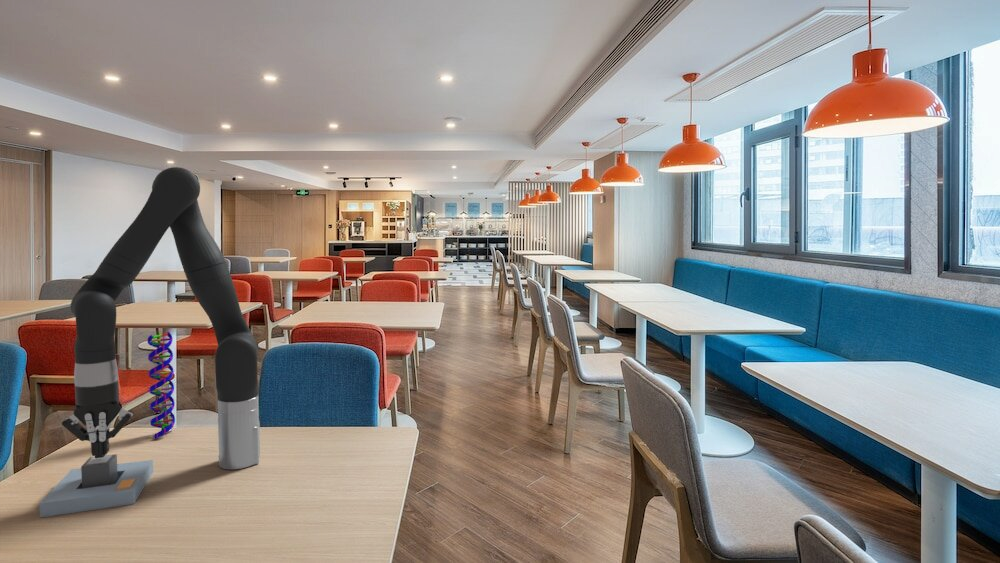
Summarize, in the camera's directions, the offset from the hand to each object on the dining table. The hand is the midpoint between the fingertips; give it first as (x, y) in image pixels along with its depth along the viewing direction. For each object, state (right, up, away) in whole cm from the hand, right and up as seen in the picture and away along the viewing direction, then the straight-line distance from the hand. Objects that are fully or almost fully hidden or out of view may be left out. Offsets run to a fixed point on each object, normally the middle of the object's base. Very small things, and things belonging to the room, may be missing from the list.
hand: (100, 456), depth 112 cm
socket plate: (0, -8, +1) cm, 8 cm away
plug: (0, -8, +1) cm, 8 cm away
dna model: (-8, -6, +33) cm, 35 cm away
